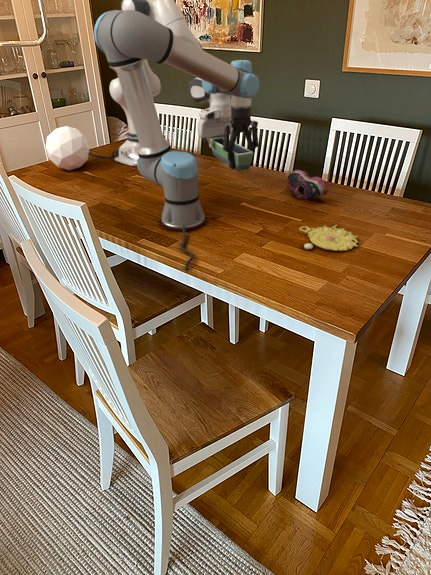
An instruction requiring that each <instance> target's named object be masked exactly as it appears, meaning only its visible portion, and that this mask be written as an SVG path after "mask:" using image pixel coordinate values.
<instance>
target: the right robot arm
mask: <svg viewBox="0 0 431 575" xmlns="http://www.w3.org/2000/svg"><path fill="white" fill-rule="evenodd" d="M93 29H94V30H93V36H94V40H95V43H96V46H97V47H98V49H99V50H100V51H101V52H102V53H103V54H105V57H106V60H107V62H108V66H109V68H110V69H112V70H113V71H115V73H116V75H117V78H119V81H120V84H121V87H122V91H123V94H124V97H125V100H126V103H127V106H128V109H129V112H130V116H131V119H132V122H133V125H134V128H135V131H136V134H137V137H138V141H139V144H140V146H139V148H138V149H137V152H138V155H139V157H138V159H137V165H136V166H137V170H138V171H139V173H140V175H141V176H142V177H143V178H144V179H146V180H147V181H148V182H150V183H153V184H155V185H158V186H159V187H160V188H162V189H163V194H164V204H163V209H162V213H161V219H160V220H161V225H162V227H163V228H165V229H167V230H170V231H175V232H176V231H177V232H182V237H183V240H182V242H181V244H180V249H181V251H182V252H184V253H185V254H187V255H189V256H190V258H188V260H187V261H186V263H185V266H184V271H185V272H188V271H189V265H190V263H191V262H192V261H193V260H194V258H195V255H194V254H193V252H191V251H189V250H187V249H186V248H185V247H184V246H185V244H186V242H187V235H186V234H187V233H186V232H187V231H192V230H195V229H198V228H201V227H202V226H203V225H204V224H205V223H206V215H205V212H204V210H203V208H202V204H201V202H200V196H199V175H198V172H199V167H198V162H197V159H196V157H195V156H194V155H193V154H192V153H189V152H187V151H181V150H173V149H172V145H171V142H170V140H168V139H166V138H165V137H164V133H163V131H162V126H161V123H160V119H159V114H158V112H157V108H156V105H155V101H154V97H152V94H151V90H150V87H149V83H148V80H147V76H146V72H145V69H144V65H143V63H144V61H145V59H146V60H147V61H151V62H153V63H156V64H158V65H163V64H167V65H169V66H171V67H173V68H175V69H178V70H180V71H182V72H184V73H186V74H188V75H191V76H193V77H195V78H199V79H202V86H203V89H204V91H205V92H206V93H208V94H216V93H222V94H227V95H230V100H231V122H230V123H229V124H227V125H226V124H224V130H225V132H224V135H223V137H224V142H223V150H224V151H226V152H228V160H229V161H230V166H229V169H231V170H235V169H234V152H232V151H233V148H234V145H235V143H237V142H236V141H237V139H238V136H239V135H240V134H241V132H242V133H243V134H244V136H245V139H246V142H247V145H248V148H247V149H248V150H250V151H252V152H253V156H252V158H254V156H255V150H256V148H258V147H259V146H260V145H259V136H258V135H259V133H258V125H259V122H258V121H256V120H252V119H251V117H252V107H251V106H252V99H253V98H255V96H257V94H258V92H259V89H260V81H259V78H258V76H257V75H256V74H254V73H253V70H252V68H253V67H252V62H251V61H250V60H247V59H237V60H232V61H231V62H230V64H229V63H227V62H226V61H223V60H222V59H220V58H218V57H216V56H214V55H212V54H210V53H208V52H206V51H205V50H204V49H203V50H204V51H203V50H201V49H199V48H197V47H195V46H193V45H191V44H189V43H188V42H186V41H184V40H182V39H180V38H178V37H176V36H174V33H173V31H172V30H171V29H170V28H168V27H166V26H164V25H162V24H161V23H159V22H157V21H155V20H154V19H152V18H150V17H148V16H146V15H145V14H143V13H140V12H138V11H135V10H126V11H123V10H121V9H120V10H119V9H114V10H108V11H106V12H103V13H102V14H100V16H98V18H97V19H96V22H95V24H94V28H93ZM231 126H232V128H233V131H232V135H231V134H230V130H231ZM250 127H251V131H250ZM229 140H230V142H229ZM251 167H253V160H252V161H251V165H250V168H251Z"/></svg>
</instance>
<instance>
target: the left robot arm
mask: <svg viewBox="0 0 431 575" xmlns="http://www.w3.org/2000/svg"><path fill="white" fill-rule="evenodd" d="M120 10H123V11H126V10H135V11H138V12H140V13H143V14H145V15H146V16H148V17H150V18H152V19H154V20H155V21H157V22H159V23H161V24H162V25H164V26H166V27H168V28H170V29H171V30H172V31H173V33H174V36H176V37H178V38H180V39H182V40H184V41H186V42H188V43H189V44H191V45H193V46H195V47H197V48H199V49H201V50H203V51H205V49H204V48H203V46H202V45H201V43H200V41H199V40H198V39H197V38H196V36H195V34H193V32H192V30H191V29H190V27H189V25H188V23H187V21H186V18H185V17H184V15H183V13H182V11H181V9H180V8H179V5H178V4H177V3H176V1H175V0H121V1H120ZM143 65H144V69H145V72H146V76H147V80H148V83H149V87H150V90H151V94H152V97H153V98H155V97H157V96H158V95H159V94H160V93H161V90H162V83H161V81H160V78H159V77H158V75H157V74H155V73H154V72H153V70H152V69H151V67H150V65H149V60H146V59H145V61H144V63H143ZM187 87H188V88H187V90H188V91H187V92H188V95H189V97H190V99H191V100H192V101H193V102H195V103H198V104H202V103H205V102H206V103H207V102H208V103H209V107H207V108H205V109H203V110H201V111H199V113H198V116H199V119H198V122H197V135H198V136H199V137H200V138H201V139H206V141H207V142H208V147H209V148H211V149H212V147H214V143H213V142H211V139H212V138H215V137H222V136H224V132H225V130H224V124H226V125H227V124H229V123H230V122H231V108H232V106H231V95H227V94H222V93H216V94H208V93H206V92H205V91H204V89H203V86H202V79H199V78H197V77H195V78H193V79H191V80H190V81H189V83H188V86H187ZM109 94H110V96H111V98H112V100H113V101H114V102H116V103H117V104H118V105H120V107H121V108H122V109H123V111H124V113H125V116H126V120H127V127H128V132H126V133H125V137H127V139H126V140H125V141H124V142H123V143H122V144H121V145H120V146H119V147H118V148H116V149H114V150H113V151H112V152H111V155H110V156H107V155H100V154H96V153H93V152H90V151H89V155H91V156H94V157H97V158H103V159H108V158H109V159H111V158H114V161H115V162H118V163H120V164H124V165H127V166H131V167H136V166H137V159H138V157H139V155H138V152H137V149H138V148H139V146H140V144H139V141H138V137H137V134H136V131H135V128H134V125H133V122H132V119H131V116H130V112H129V109H128V106H127V103H126V100H125V97H124V94H123V91H122V87H121V84H120V81H119V78H118V77H116V78H114V79H112V80H111V81H110V83H109ZM232 131H233V128H232V126H231V130H230V136H232ZM241 133H243V132H241ZM241 133H240V134H241ZM114 156H116V157H114Z"/></svg>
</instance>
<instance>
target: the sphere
mask: <svg viewBox="0 0 431 575" xmlns="http://www.w3.org/2000/svg"><path fill="white" fill-rule="evenodd" d="M44 148H45V152H46V154H47V158H48V160H49V161H51V162H52V163H53V164H54V165H55V167H57V168H60V169H63V170H66V171H72V170H75V169H79V168H81V167H82V166H83V165H84V164H85V163H87V161H88V160H89V155H90V154H89V152H90V147H89V142H88V139H87V137H86V136H85V135H84V133H82V132H81V131H80V130H79V129H78V128H74V127H72V126H67V125H65V126H61V127H57V128H54V129H53V131H52V132H50V133H49V135H47V136H46V141H45V146H44Z"/></svg>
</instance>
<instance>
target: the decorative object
mask: <svg viewBox="0 0 431 575" xmlns="http://www.w3.org/2000/svg"><path fill="white" fill-rule="evenodd" d="M303 228H304V229H305V230H304V229H303ZM299 231H300V232H303V233H305V234H307V237H308V238H309V240H310V241H311V243H304V244H303V248H304V249H305V250H313V249H314V245H315V246H316V247H318V248H321V249H324V250H328V251H335V252H341V251H348V250H352V249H354V247H356V248H358V247H359V245H358V244H357V243H359V240H357V238H359V237H358V235H353V234H352V231H347V230H346V229H345V228H344V227H342V228H338V224H335V225H333V226H331V227H328V226H327V225H326V224H325V225H323V226H322V227H321V226H317V227H316V228H314V227H309V226H308V225H302V226H300V227H299ZM313 244H314V245H313Z"/></svg>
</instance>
